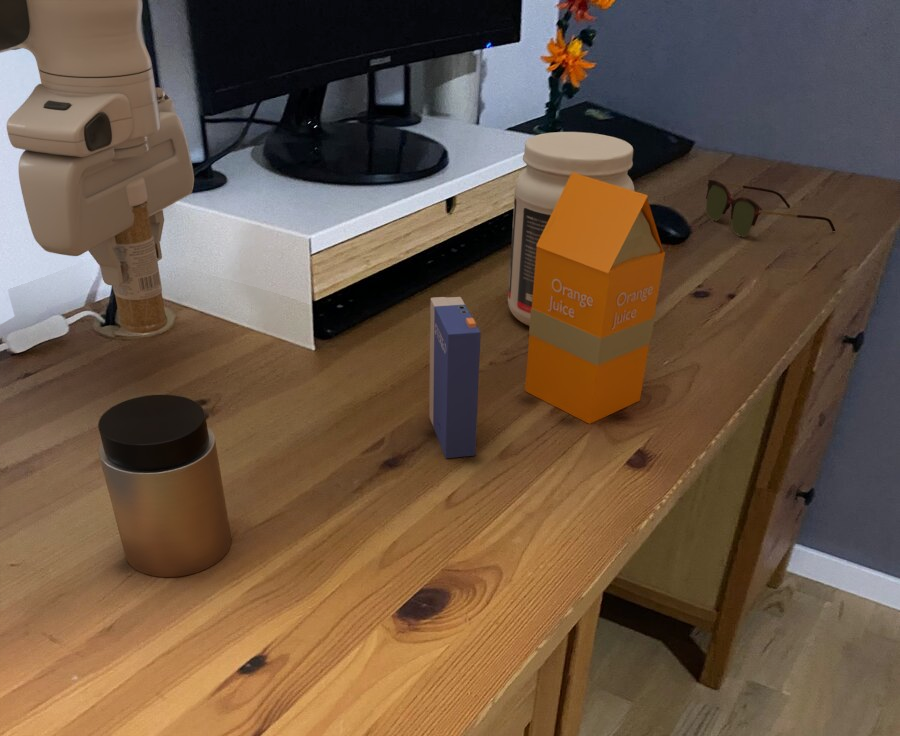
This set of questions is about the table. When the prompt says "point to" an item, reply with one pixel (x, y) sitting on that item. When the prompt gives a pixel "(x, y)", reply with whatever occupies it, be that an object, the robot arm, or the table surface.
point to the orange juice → (593, 299)
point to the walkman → (454, 376)
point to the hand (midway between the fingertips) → (133, 272)
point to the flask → (164, 485)
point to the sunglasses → (741, 207)
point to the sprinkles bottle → (139, 269)
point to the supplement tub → (555, 195)
